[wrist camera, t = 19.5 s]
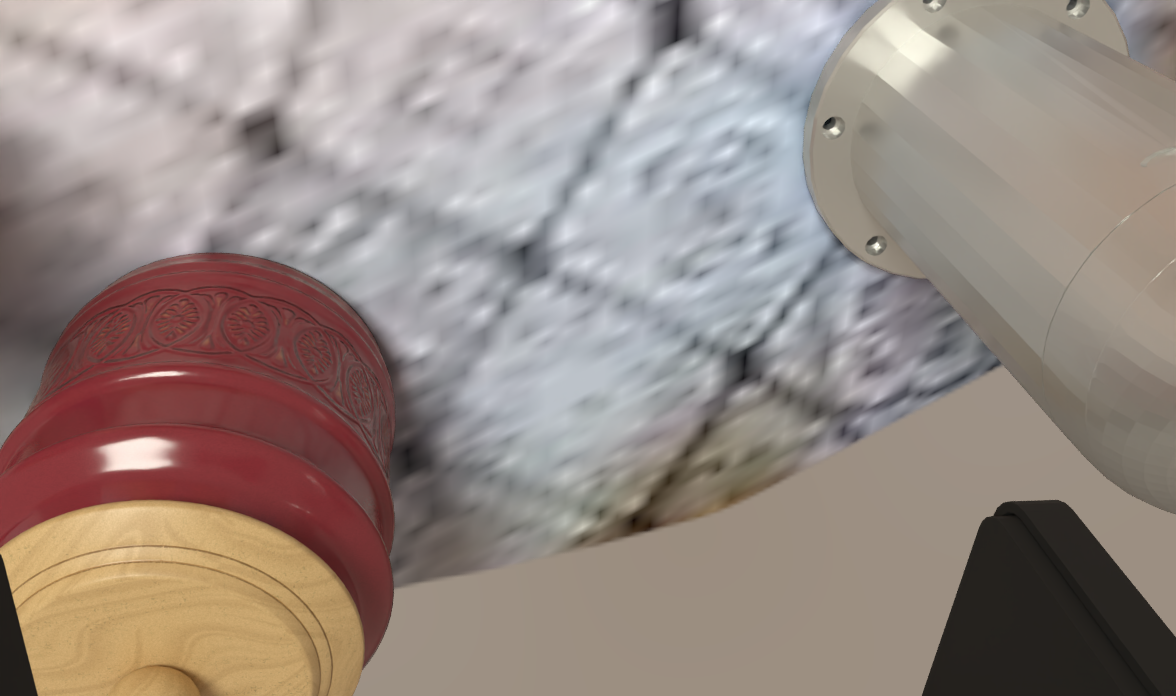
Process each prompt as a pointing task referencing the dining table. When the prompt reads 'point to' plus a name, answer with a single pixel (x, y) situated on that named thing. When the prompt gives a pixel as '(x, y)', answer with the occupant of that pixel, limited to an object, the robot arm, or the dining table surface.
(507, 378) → the dining table surface
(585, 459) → the dining table surface
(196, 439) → the canister
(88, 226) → the dining table surface
